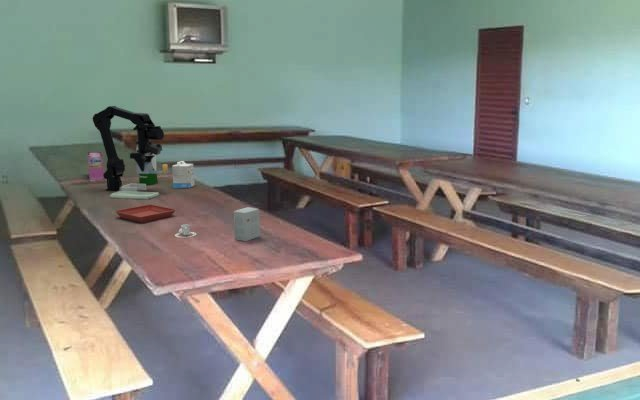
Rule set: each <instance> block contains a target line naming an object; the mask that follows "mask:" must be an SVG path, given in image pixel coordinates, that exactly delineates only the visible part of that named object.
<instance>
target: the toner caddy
mask: <svg viewBox="0 0 640 400" xmlns="http://www.w3.org/2000/svg"><path fill="white" fill-rule="evenodd" d="M135 166H136V167H135V168H136V174H139V173H140V174H149V173H155V174H157V175H159V174H160V175H168V174H169V170H168V163H163V164H162V170H157V171H153V167H152V162H145V165H144V172H142V171H141V169H140V168H139V166H138V164H137V162H136V163H135Z"/></svg>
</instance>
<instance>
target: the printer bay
mask: <svg viewBox="0 0 640 400" xmlns="http://www.w3.org/2000/svg"><path fill="white" fill-rule="evenodd" d="M119 191H133V192H138V191H147V185H146V184H139V183H128V184H124V185H122V186H121V187H120V190H119Z"/></svg>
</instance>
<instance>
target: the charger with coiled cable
mask: <svg viewBox="0 0 640 400" xmlns="http://www.w3.org/2000/svg"><path fill="white" fill-rule="evenodd" d="M190 227H191V226H190V224H189V223H188V224H186V223H184V224H182V225H180V228H179V229H178V232H177V233H176V234H174V237H176V238H179V239H181V238H182V239H183V238H193V237H195V236H197V233H196V232H194V231H191V229H190ZM190 234H192V235H190ZM179 235H182V236H179ZM189 235H190V236H189Z"/></svg>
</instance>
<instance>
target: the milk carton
mask: <svg viewBox="0 0 640 400" xmlns="http://www.w3.org/2000/svg"><path fill="white" fill-rule="evenodd" d="M135 152H137V150H136V151H135ZM153 155H154V154H153ZM151 162H152V167H153V171H158V170H157V155H155V157H153V158H152V161H151ZM138 176H139V178H138V179H139V180H138V184H146V186H152V185H155V184H158V183H159V180H158V174H155V173H149V174H140V173H138Z"/></svg>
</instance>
